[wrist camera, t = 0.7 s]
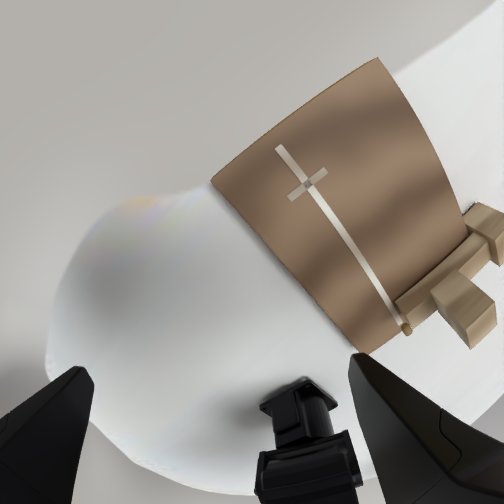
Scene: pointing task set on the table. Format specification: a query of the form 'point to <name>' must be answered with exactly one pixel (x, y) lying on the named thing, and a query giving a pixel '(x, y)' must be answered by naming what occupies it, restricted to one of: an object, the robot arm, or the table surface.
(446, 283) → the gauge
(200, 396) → the table surface
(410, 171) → the board
